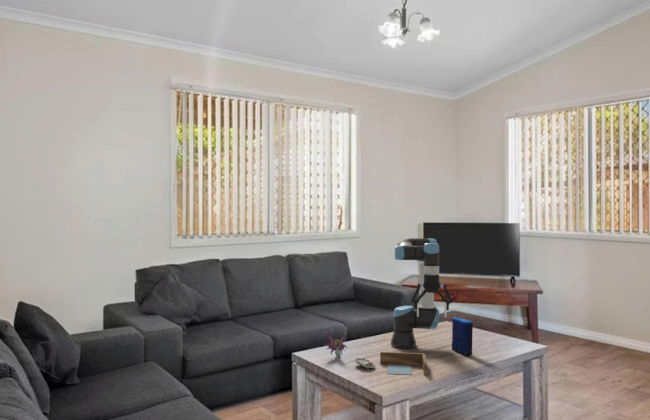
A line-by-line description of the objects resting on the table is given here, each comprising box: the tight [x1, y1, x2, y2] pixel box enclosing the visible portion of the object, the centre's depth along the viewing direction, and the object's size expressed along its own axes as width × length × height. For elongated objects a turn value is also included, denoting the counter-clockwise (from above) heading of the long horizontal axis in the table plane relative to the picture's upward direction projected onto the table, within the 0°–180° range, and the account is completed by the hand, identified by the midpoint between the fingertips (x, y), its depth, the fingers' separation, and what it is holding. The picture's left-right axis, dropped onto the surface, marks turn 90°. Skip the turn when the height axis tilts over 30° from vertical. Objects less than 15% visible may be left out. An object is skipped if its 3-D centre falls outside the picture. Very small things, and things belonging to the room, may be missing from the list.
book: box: [451, 316, 474, 356], centre depth 279 cm, size 14×5×20 cm, turn 22°
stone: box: [354, 357, 376, 369], centre depth 254 cm, size 12×9×3 cm
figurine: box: [323, 331, 348, 360], centre depth 269 cm, size 14×8×15 cm, turn 74°
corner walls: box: [379, 351, 428, 377], centre depth 250 cm, size 18×24×6 cm
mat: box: [387, 364, 413, 376], centre depth 248 cm, size 14×12×1 cm
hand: (431, 316), depth 242 cm, fingers open, 13 cm apart
